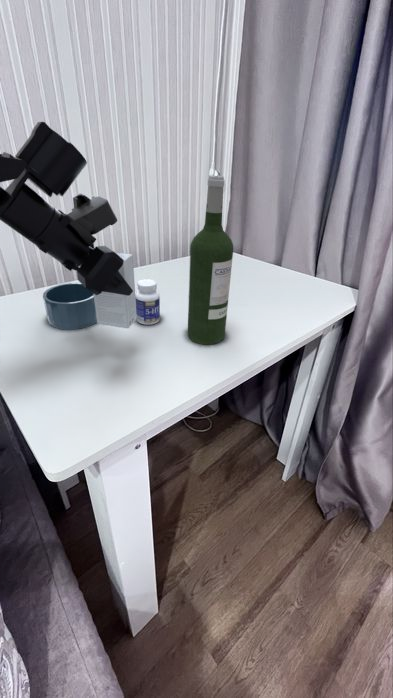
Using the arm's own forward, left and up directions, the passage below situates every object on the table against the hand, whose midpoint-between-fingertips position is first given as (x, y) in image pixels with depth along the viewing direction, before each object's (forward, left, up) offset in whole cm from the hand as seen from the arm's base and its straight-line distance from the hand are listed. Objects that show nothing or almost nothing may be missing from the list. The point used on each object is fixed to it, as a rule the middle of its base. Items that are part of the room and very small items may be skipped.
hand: (121, 285), depth 57 cm
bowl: (+2, +19, -13) cm, 23 cm away
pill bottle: (+12, +6, -13) cm, 19 cm away
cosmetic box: (-1, +1, -7) cm, 7 cm away
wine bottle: (+15, -8, -13) cm, 22 cm away
